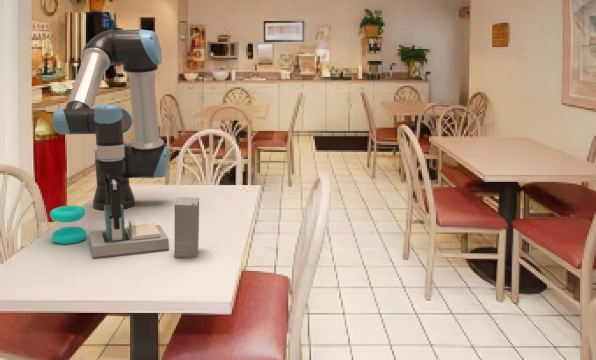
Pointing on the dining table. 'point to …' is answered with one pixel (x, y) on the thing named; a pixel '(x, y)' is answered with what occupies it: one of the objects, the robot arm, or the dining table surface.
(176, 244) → the skincare box
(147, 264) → the dining table surface
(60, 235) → the donuts
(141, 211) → the dining table surface
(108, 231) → the green rectangular box
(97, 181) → the robot arm
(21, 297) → the dining table surface
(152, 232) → the shutter
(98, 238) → the socket plate
